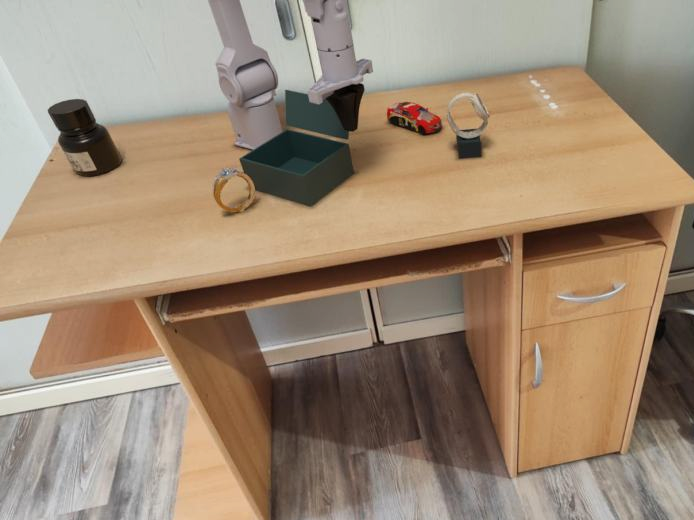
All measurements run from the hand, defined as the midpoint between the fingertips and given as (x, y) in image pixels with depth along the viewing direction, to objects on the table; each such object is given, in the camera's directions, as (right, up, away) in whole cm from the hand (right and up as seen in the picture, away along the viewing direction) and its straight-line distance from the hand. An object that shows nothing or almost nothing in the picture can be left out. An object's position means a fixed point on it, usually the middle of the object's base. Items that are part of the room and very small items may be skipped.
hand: (350, 129), depth 100 cm
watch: (+21, +1, +13) cm, 25 cm away
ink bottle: (-53, -2, +16) cm, 56 cm away
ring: (-20, -14, +2) cm, 24 cm away
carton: (-11, -7, +8) cm, 15 cm away
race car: (+9, +9, +22) cm, 26 cm away
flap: (-7, +5, +5) cm, 10 cm away
